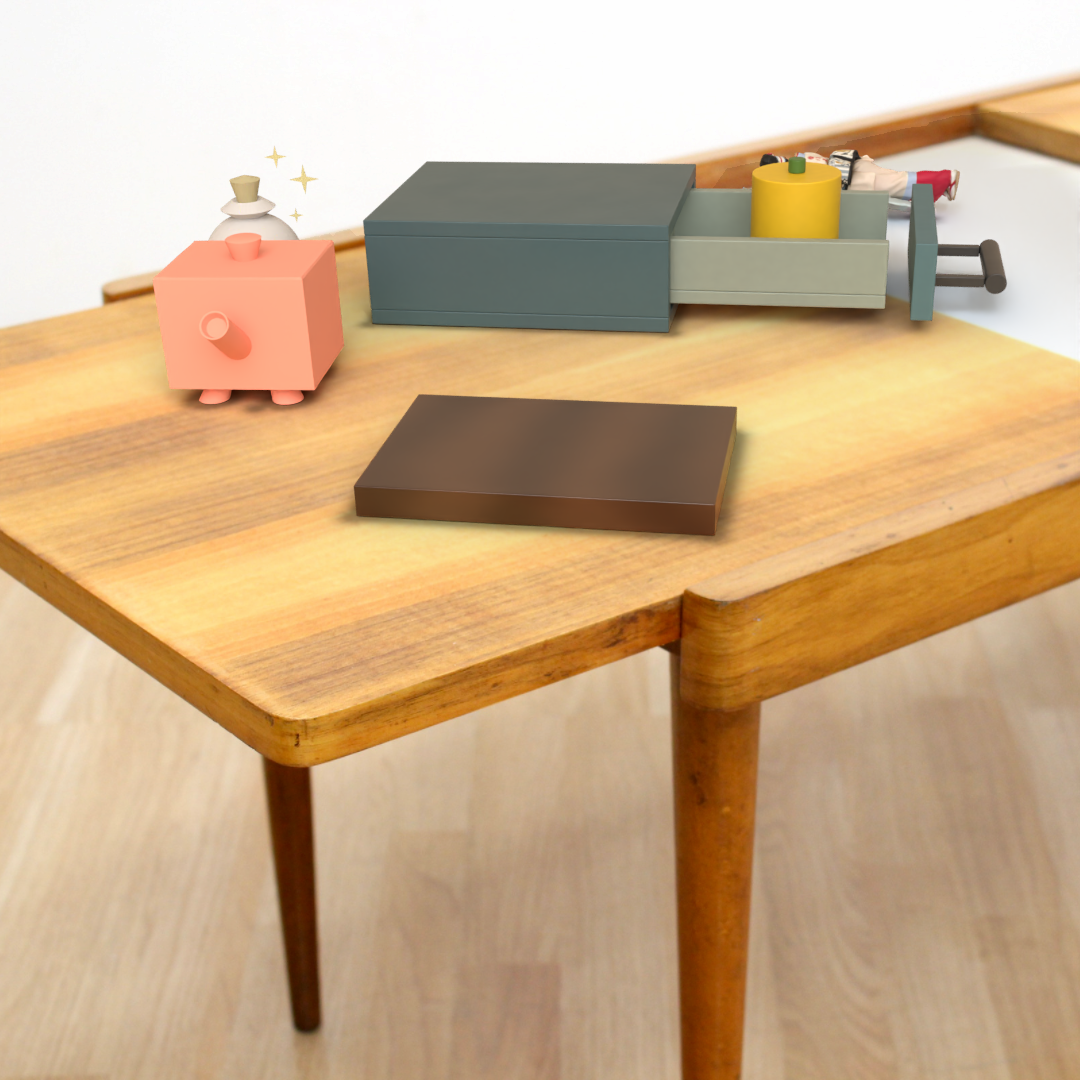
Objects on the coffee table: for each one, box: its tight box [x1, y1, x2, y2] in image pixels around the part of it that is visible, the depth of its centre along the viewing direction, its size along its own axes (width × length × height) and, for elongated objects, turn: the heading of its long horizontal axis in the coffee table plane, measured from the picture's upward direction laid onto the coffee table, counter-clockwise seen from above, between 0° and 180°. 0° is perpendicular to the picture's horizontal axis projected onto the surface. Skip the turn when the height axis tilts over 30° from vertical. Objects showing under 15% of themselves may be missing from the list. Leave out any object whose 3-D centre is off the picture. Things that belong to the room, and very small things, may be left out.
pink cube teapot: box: [152, 233, 345, 406], centre depth 82 cm, size 8×12×8 cm, turn 173°
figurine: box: [742, 149, 961, 213], centre depth 110 cm, size 6×8×15 cm
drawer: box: [670, 184, 1008, 322], centre depth 92 cm, size 21×13×4 cm, turn 79°
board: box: [353, 393, 738, 536], centre depth 72 cm, size 16×11×2 cm
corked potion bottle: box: [207, 145, 318, 241], centre depth 94 cm, size 6×7×10 cm
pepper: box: [750, 156, 842, 239], centre depth 92 cm, size 5×5×6 cm
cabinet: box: [362, 160, 697, 333], centre depth 96 cm, size 18×14×6 cm
